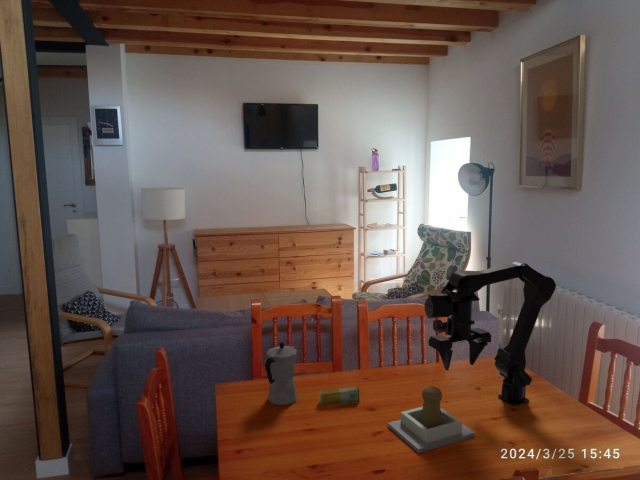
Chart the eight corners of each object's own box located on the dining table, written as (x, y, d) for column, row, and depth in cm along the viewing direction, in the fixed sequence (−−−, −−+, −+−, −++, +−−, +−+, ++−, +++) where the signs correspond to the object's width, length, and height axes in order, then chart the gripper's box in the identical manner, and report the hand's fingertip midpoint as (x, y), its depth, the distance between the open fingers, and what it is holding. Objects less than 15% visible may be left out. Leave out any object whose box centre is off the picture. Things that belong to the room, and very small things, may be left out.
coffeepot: (280, 386, 158) (279, 333, 156) (306, 392, 154) (305, 337, 151) (253, 407, 145) (252, 349, 142) (281, 414, 140) (279, 354, 138)
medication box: (357, 398, 150) (357, 386, 150) (360, 402, 148) (360, 389, 147) (319, 402, 148) (319, 390, 147) (321, 406, 145) (320, 393, 145)
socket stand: (440, 412, 141) (441, 399, 141) (475, 436, 129) (475, 421, 128) (387, 426, 134) (387, 412, 133) (418, 453, 121) (418, 438, 121)
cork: (437, 436, 127) (438, 395, 125) (415, 429, 130) (416, 389, 129) (446, 425, 132) (447, 387, 130) (424, 419, 135) (426, 381, 134)
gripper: (467, 304, 152) (465, 352, 154) (417, 312, 144) (416, 362, 147) (493, 314, 142) (491, 365, 144) (442, 323, 134) (440, 377, 137)
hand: (459, 367), depth 143 cm, fingers open, 9 cm apart
